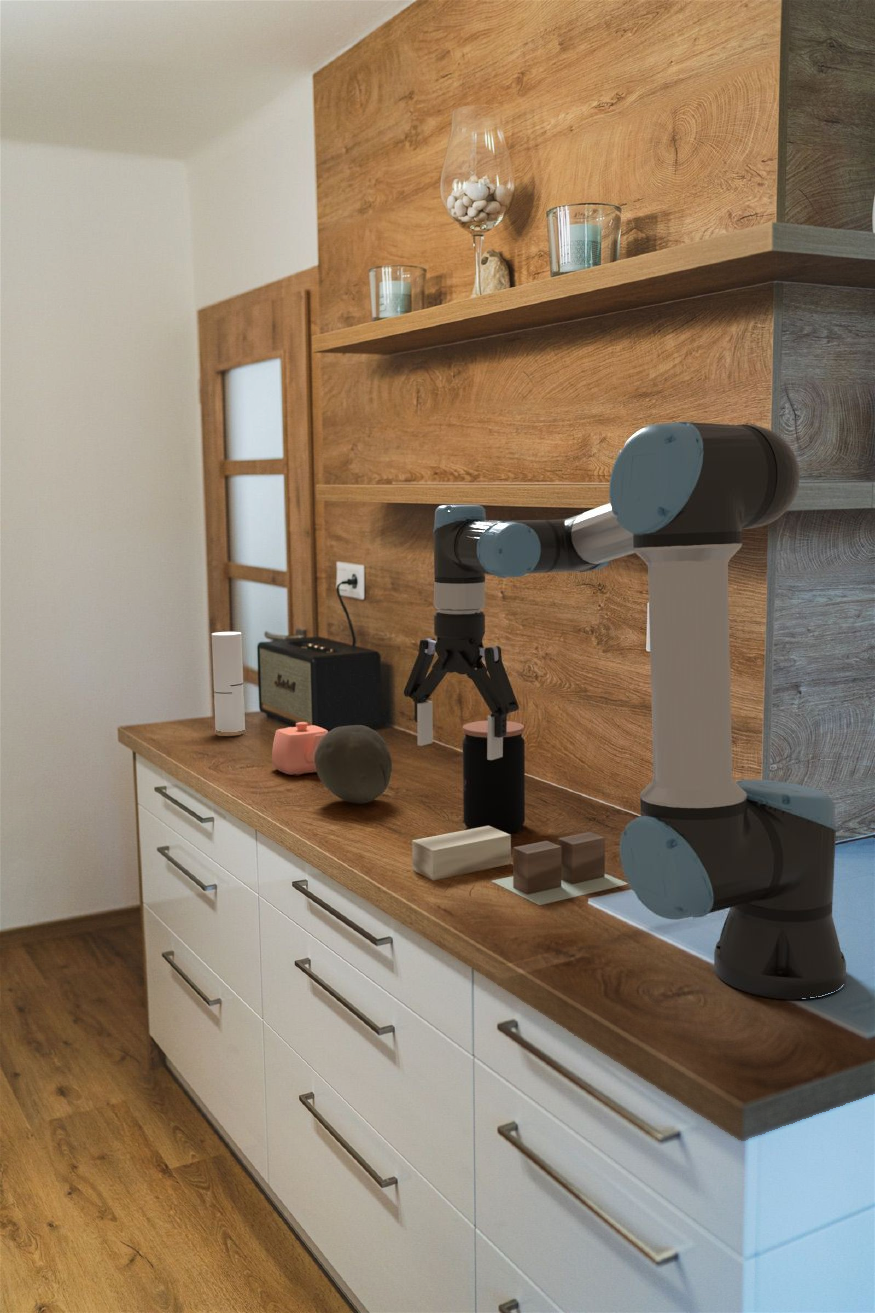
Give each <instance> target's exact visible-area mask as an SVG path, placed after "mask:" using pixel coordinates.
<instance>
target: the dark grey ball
mask: <svg viewBox="0 0 875 1313" xmlns="http://www.w3.org/2000/svg"><path fill="white" fill-rule="evenodd" d="M315 766H316V770H317V772H316V775H317V776H318V778H319V780H320V782H321V783H322V784H323V786H325V788H326V789H327V790H328V791H330V793H332V794H333V795H334V796H336V797H338V798H339V799H340V800H343V801H345V802H347V803H348V802H349V803H351V804H360V805H363V804H364V805H365V804H367V803H370V802H373V801H374V800H375V799H378V798H379V797H380V796H382V794H384V793H385V791H386V790H387V788H388V786H389V784H390V780H391V774H392V769H393V762H392V756H391V753H390V750H389V748H388V746H387V744H386V741H385V740H384V738H383V737H382V736H381V735H380V734H379V732H377V731H376V730H374V729H373V728H370V727H369V726H366V725H362V724H354V725H352V724H351V725H343V726H337V727H334V728H333V729H331V730H330V731H328V733H327V734H326V735H325V736H324V737H323V738H322V739H321V741H320V742H319V745H318V748H317V750H316V752H315Z"/></svg>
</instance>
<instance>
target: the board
mask: <svg viewBox="0 0 875 1313" xmlns="http://www.w3.org/2000/svg"><path fill="white" fill-rule="evenodd" d="M491 882H492V883H493V884H496V885H498V886H500V887H502V888H504V889H506V890H508V891H510V892H512V893H514V894H516V895H518V896H519V897H522V898H524V899H526V900H528V901H530V902H532V903H534V904H536V905H538V906H542V905H547V904H551V903H555V902H559V901H563V900H566V899H572V898H575V897H580V896H584V895H588V894H589V895H590V894H593V893H597V892H602V891H605V890H610V889H614V888H618V887H622V886H627V885H629V883H628V882H625V881H623V880H621V879H619V878H617V877H614V876H612V875H609V874H607V873H605V877H602V878H598V879H594V880H589V881H585V882H581V883H576V884H570V883H568V882H566V881H564V880H562V879H561V887H559V888H555V889H550V890H546V891H541V892H537V893H533V894H528V895H527V894H525V893H523V892H521V891H519V890H517V889H515V888H513V875H512V876H508V877H502V878H497V879H493V880H491Z"/></svg>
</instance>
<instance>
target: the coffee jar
mask: <svg viewBox="0 0 875 1313" xmlns="http://www.w3.org/2000/svg"><path fill="white" fill-rule="evenodd" d="M506 727H507V733H506V736H504V737H503V757H500V758H497V759H494V760H488V759H487V728H488V720H480V721H479V720H477V721H473V722H468V723H465V724H463V726H462V732H463V734H465V736H464V738H463V740H462V802H463V803H462V805H463V807H462V808H463V811H462V814H463V816H462V817H463V818H462V819H463V823H464V825H465V827H466V828H467V830H469V829H474V828H479V827H484V826H491V827H493V828H496V829H498V830H500V831H503V832H505V833H507V834H510V835H512V834H514V833H517V832H519V831H520V830H521V828H522V827H523V825H524V823H525V822H526V819H525V818H526V816H525V815H526V814H525V813H526V809H525V808H526V806H525V805H526V799H525V798H526V795H525V794H526V790H525V789H526V787H525V785H526V784H525V780H526V775H525V773H526V772H525V770H526V767H525V764H526V763H525V762H526V761H525V758H526V757H525V754H526V753H525V752H526V750H525V749H526V748H525V746H526V744H525V743H526V742H525V739H524V738H523V737H522V734H524V732H525V726H524V724H522V723H520V722H516V721H511V720H510V721H509V720H507V726H506Z"/></svg>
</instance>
